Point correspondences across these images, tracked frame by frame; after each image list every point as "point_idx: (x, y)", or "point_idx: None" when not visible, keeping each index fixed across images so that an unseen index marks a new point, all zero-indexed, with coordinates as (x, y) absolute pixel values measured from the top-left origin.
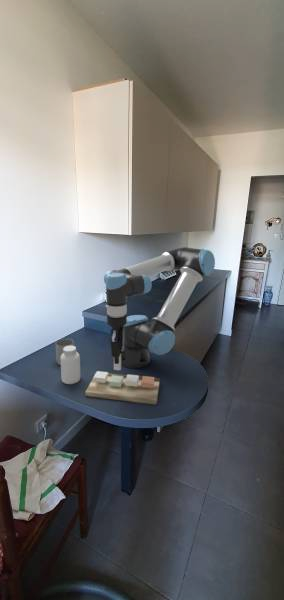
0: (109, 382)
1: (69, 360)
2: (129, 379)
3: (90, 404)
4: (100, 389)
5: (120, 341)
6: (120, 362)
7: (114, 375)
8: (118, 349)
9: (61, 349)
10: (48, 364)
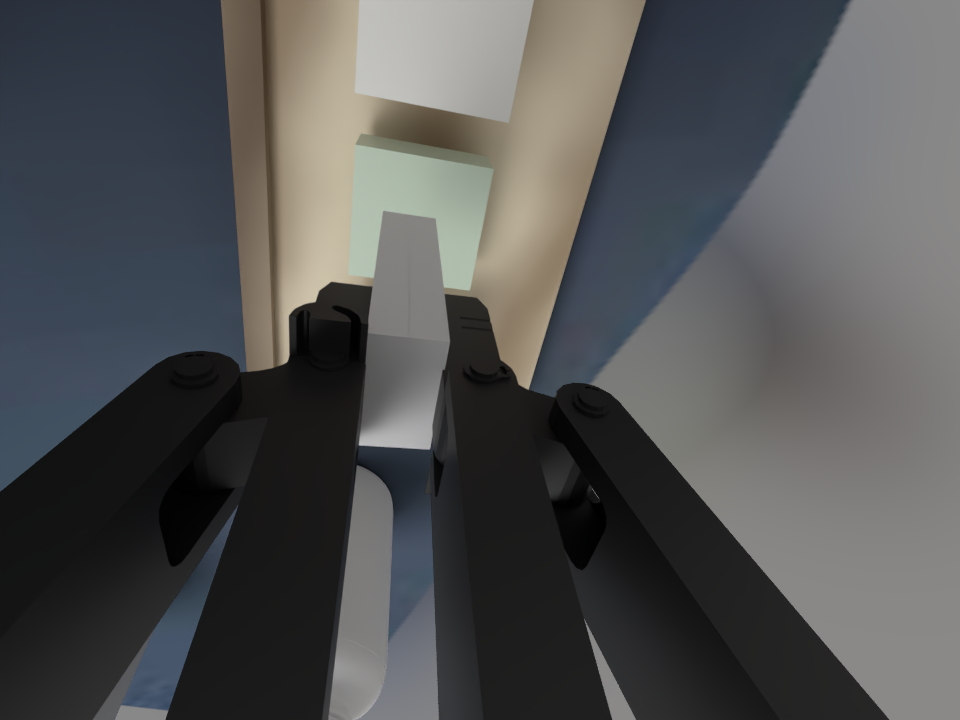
0: (469, 282)
1: (380, 672)
2: (479, 58)
3: (606, 350)
4: (497, 326)
5: (327, 682)
6: (422, 265)
7: (352, 249)
8: (548, 507)
9: (113, 705)
10: (192, 627)
